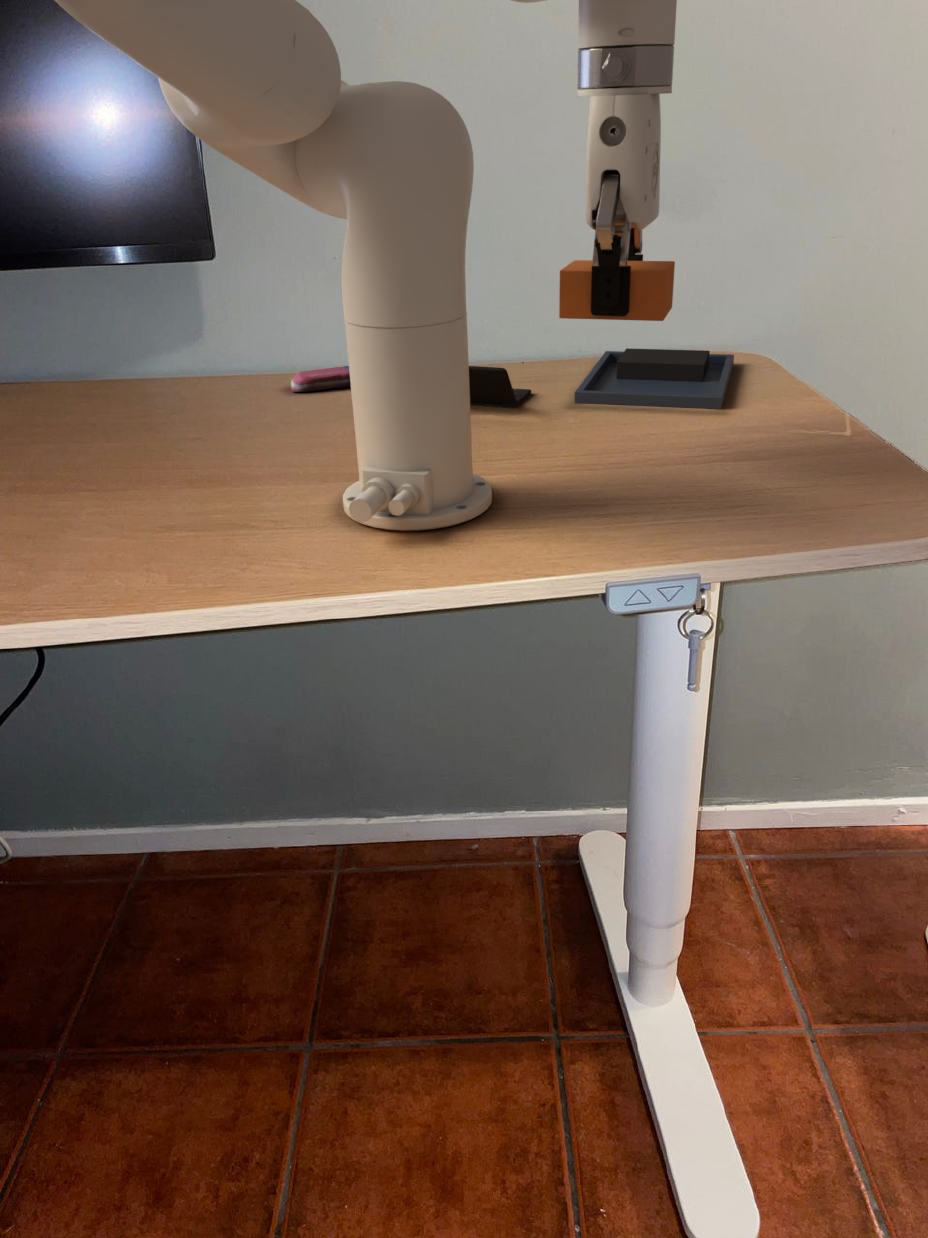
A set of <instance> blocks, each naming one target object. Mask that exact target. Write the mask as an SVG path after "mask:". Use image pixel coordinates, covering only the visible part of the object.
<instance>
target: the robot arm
mask: <svg viewBox="0 0 928 1238" xmlns="http://www.w3.org/2000/svg"><path fill="white" fill-rule="evenodd" d="M54 1H55V2H56V4H58V5H59V6H60V7H61V8H62V9H63V10H64V11H65V12H66V13H68V14H69V15H70V16H71V17H72V18H73V19H74V20H76V21H77V22H78V23H80V24H81V25H82V26H83V27H84V28H86V29H87V30H89V31H90V32H91V33H93V34H94V35H96V36H97V37H98V38H100V39H101V40H103V41H104V42H106V43H108V45H110V46H112V47H113V48H115V49H116V50H118V51H119V52H120V53H122V54H123V55H125V56H126V57H128V58H129V59H131V60H132V61H133V62H134V63H135V64H137V65H139V66H140V67H141V68H142V69H144V70H145V71H148V73H150V74H152V75H153V76H155V77H157V80H158V83H159V87H160V90H161V93H162V96H163V97H164V100H165V102H166V103H167V106H168V107H169V109H170V110H171V112H172V113H173V114H174V116H175V117H176V118H177V120H178V121H179V122H180V123H181V124H182V125H183V126H184V127H185V128H186V129H187V130H188V131H189V132H190V133H191V134H193V136H195V137H196V138H197V139H199V140H200V141H201V142H203V143H204V144H206V145H207V146H209V147H210V148H212V149H213V150H215V151H217V152H218V153H220V154H221V155H223V156H225V157H226V158H227V159H230V160H231V161H233V162H235V164H238V165H240V166H241V167H243V168H244V169H245V170H247V171H249V172H251V173H252V174H254V175H255V176H257V177H259V178H260V179H262V180H263V181H266V182H267V183H268V184H270V185H272V186H274V187H275V188H277V189H278V190H280V191H282V192H283V193H285V194H287V195H289V196H291V197H292V198H294V199H295V200H297V201H299V202H300V203H302V204H304V205H306V206H308V207H310V208H312V209H313V210H316V211H318V212H320V213H322V214H325V215H327V216H331V217H334V218H337V219H342V220H346V224H345V225H346V228H345V235H344V241H343V242H344V243H343V251H342V258H341V297H342V298H341V299H342V311H343V320H344V328H345V329H344V330H345V337H346V349H347V358H348V359H347V360H348V366H349V372H350V383H351V386H350V391H351V403H352V404H351V405H352V413H353V415H352V416H353V426H354V434H355V447H356V455H357V456H356V457H357V467H358V468H357V469H358V480H357V481H355V482H354V483H352V484H351V485H350V486H348V487H347V488H346V489H345V491H344V493H343V494H342V505H343V510H344V513H345V514H346V515H347V516H348V517H349V518H350V519H352V520H353V521H355V522H357V523H359V524H362V525H363V526H368V527H370V528H375V529H380V530H389V531H400V532H401V531H404V532H405V531H408V532H409V531H425V530H427V531H428V530H436V529H440V528H441V529H442V528H448V527H451V526H456V525H459V524H462V523H465V522H468V521H471V520H473V519H474V518H477V517H479V516H480V515H481V514H483V513H484V512H485V511H487V510H488V509H489V507H490V506H491V505H492V501H493V491H492V486H491V484H490V483H489V481H487V480H486V479H484V478H483V477H482V476H481V475H478V474H475V473H473V471H474V470H473V446H472V443H473V442H472V421H471V420H472V419H471V416H472V415H471V405H470V388H469V366H470V365H469V364H470V363H469V362H470V361H469V339H468V337H469V335H468V312H467V291H466V290H467V288H466V287H467V285H466V282H467V281H466V251H467V250H466V248H467V235H468V222H469V215H470V207H471V201H472V194H473V185H474V171H475V168H474V167H475V164H474V163H475V162H474V149H473V144H472V141H471V136H470V134H469V131H468V128H467V125H466V123H465V121H464V120H463V117H462V116H461V115H460V112H459V111H458V110H457V109H456V107H455V106H454V105H453V104H452V103H451V102H450V101H449V100H448V99H446V98H445V96H443V95H442V94H440V93H439V92H437V91H436V90H434V89H432V88H430V87H427V86H425V85H421V84H419V83H415V82H411V81H403V80H401V81H400V80H399V81H398V80H392V81H391V80H389V81H379V82H376V81H375V82H367V83H366V82H365V83H360V84H352V85H351V84H348V83H347V82H345V81H344V80H342V70H341V62H340V59H339V55H338V52H337V49H336V46H335V44H334V42H333V39H332V38H331V36H330V34H329V32H328V31H327V30H326V29H325V27H324V25H323V24H322V23H321V22H320V20H318V18H316V16H315V15H314V14H313V13H312V12H311V11H310V10H309V9H308V8H307V7H306V6H305V5H303V4H302V3H300V2H298V1H297V0H54ZM511 1H512V2H517V3H523V4H526V3H527V4H530V3H539V2H545V1H547V0H511ZM677 3H678V0H578V20H577V21H578V23H577V25H578V29H577V49H578V50H577V85H576V86H577V87H576V89H577V91H576V92H577V93H576V97H577V98H582V97H583V98H585V97H589V107H588V108H589V109H588V122H587V140H586V141H587V143H586V163H585V165H586V166H585V218H586V219H585V220H586V224H587V225H588V226H589V228H591V229H592V230H593V231H594V239H593V240H594V241H593V251H592V252H593V253H592V260H593V266H592V277H591V314H592V315H594V316H626V315H627V314H628V313H629V302H630V278H631V266H627V262H628V261H644V254H643V253H642V252H643V230H644V229H646V228H647V227H648V226H649V225H650V224H652V223H653V222H654V221H655V220H656V219H657V218H658V217H659V214H660V195H661V193H660V187H661V185H660V184H661V151H662V150H661V142H662V140H661V139H662V136H661V135H662V120H661V119H662V118H661V97H660V95H661V94H662V95H663V94H665V95H667V94H672V93H673V78H674V74H673V73H674V60H675V59H674V58H675V40H676V25H677V24H676V23H677V5H678V4H677Z"/></svg>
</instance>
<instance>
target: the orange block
mask: <svg viewBox="0 0 928 1238" xmlns="http://www.w3.org/2000/svg"><path fill="white" fill-rule="evenodd" d="M592 266H593V259H592V260H588V259H587V260H586V259H585V260H584V259H581V260H580V259H579V260H578V259H574V260H573V261H571V262H570V263H569V264H567V265H565V266H564V267H563V268H561V269H559V291H558V292H559V294H558V295H559V300H558V304H559V308H558V309H559V310H558V318H559V319H570V320H571V319H572V320H573V319H574V320H605V321H606V320H608V321H609V320H610V321H646V322H652V321H653V322H664V320H665V319H666V318H667V316H668V314H669V313H670V311H671V310H672V308H673V300H674V284H675V283H674V282H675V269H676V267H675V266H676V262H675V261H674V260H643V261H628V262H627V266H631V278H630V302H629V313H628V314H627V315H626V316H594V315H592V314H591V277H592Z"/></svg>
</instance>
